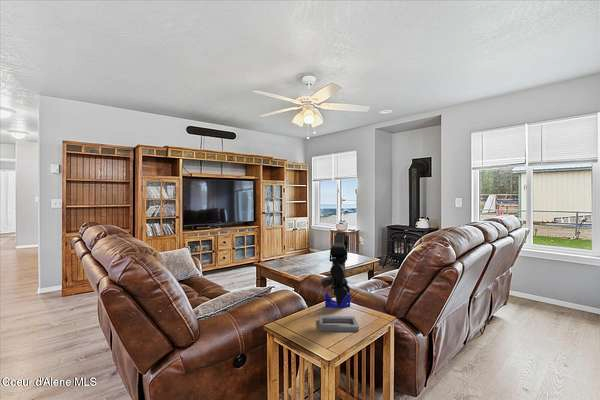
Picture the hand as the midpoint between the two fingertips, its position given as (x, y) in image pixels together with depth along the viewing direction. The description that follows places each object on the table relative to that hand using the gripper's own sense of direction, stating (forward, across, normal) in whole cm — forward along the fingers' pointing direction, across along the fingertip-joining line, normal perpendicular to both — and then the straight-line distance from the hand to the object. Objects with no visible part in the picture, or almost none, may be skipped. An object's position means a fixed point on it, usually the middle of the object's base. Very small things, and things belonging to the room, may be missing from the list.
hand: (338, 303), depth 142 cm
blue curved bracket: (+1, 0, 0) cm, 1 cm away
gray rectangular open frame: (+10, 0, 0) cm, 11 cm away
